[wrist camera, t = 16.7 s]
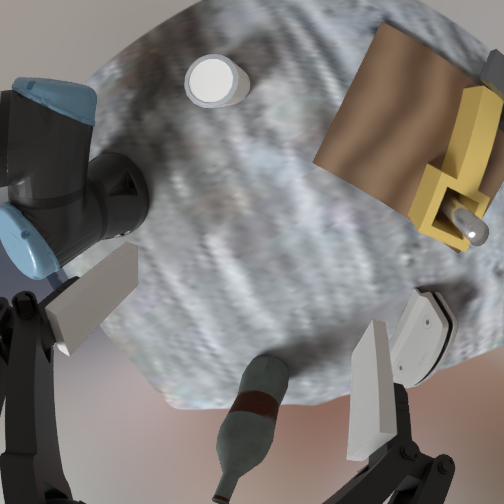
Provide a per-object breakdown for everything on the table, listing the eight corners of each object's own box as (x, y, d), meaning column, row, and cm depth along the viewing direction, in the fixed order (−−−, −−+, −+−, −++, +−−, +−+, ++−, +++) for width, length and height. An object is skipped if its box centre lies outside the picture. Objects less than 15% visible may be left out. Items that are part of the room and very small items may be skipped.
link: (450, 81, 25) (468, 76, 20) (494, 107, 24) (516, 108, 19) (407, 215, 35) (418, 231, 30) (451, 233, 34) (465, 252, 29)
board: (313, 161, 37) (312, 162, 36) (380, 24, 26) (381, 21, 25) (455, 249, 36) (458, 253, 35) (521, 130, 25) (526, 131, 23)
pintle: (427, 198, 34) (464, 238, 22) (435, 183, 33) (477, 217, 21) (440, 207, 34) (479, 250, 22) (448, 192, 33) (492, 230, 21)
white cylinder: (253, 59, 33) (236, 49, 27) (256, 106, 36) (240, 104, 30) (205, 66, 35) (181, 60, 29) (209, 111, 38) (186, 112, 32)
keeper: (441, 88, 27) (485, 78, 16) (450, 65, 25) (496, 49, 14) (498, 135, 27) (553, 150, 15) (507, 114, 25) (563, 121, 13)
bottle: (281, 388, 58) (241, 514, 32) (242, 373, 59) (187, 495, 33) (298, 363, 53) (258, 508, 28) (254, 346, 54) (194, 487, 29)
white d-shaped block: (414, 286, 40) (447, 328, 31) (435, 286, 41) (468, 324, 32) (378, 359, 48) (398, 401, 39) (398, 357, 49) (419, 396, 40)
